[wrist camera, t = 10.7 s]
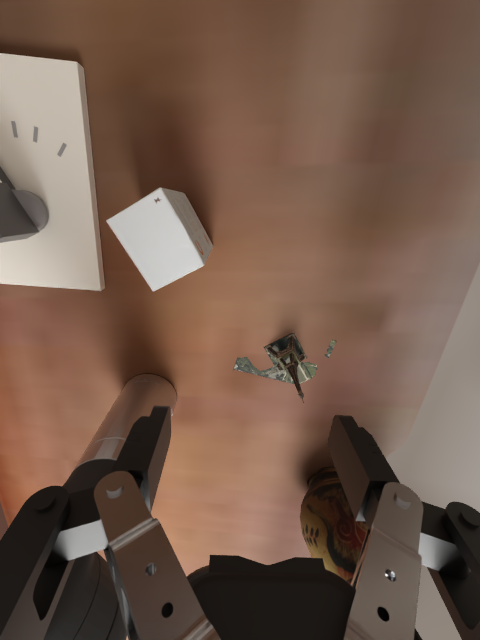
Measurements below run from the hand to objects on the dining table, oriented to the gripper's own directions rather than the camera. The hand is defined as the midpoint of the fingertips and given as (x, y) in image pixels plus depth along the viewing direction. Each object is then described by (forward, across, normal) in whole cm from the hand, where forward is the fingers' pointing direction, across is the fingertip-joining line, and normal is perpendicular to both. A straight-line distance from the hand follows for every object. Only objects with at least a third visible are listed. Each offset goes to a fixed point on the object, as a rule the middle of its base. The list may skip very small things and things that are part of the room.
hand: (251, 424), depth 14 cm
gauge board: (+30, +28, -10) cm, 42 cm away
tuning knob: (+28, +29, -10) cm, 42 cm away
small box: (+30, +9, -6) cm, 32 cm away
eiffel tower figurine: (+31, -8, +12) cm, 34 cm away
